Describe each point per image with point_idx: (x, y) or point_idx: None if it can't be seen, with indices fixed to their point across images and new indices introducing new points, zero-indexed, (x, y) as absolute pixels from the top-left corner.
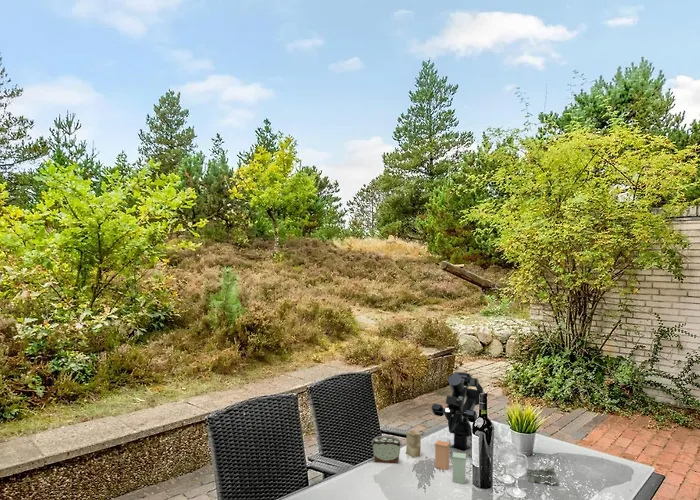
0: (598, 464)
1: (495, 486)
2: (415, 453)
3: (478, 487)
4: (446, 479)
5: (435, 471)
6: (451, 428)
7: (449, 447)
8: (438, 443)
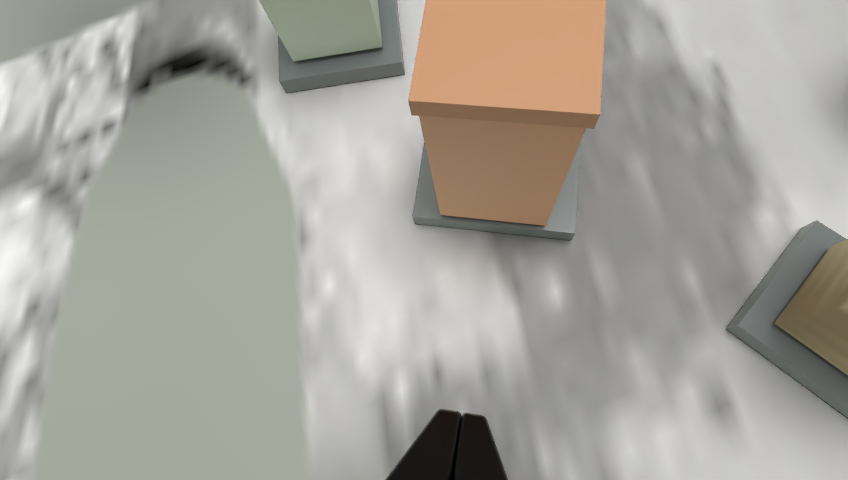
0: None
1: (106, 109)
2: (834, 266)
3: (216, 49)
4: None
5: None
6: (420, 442)
7: (422, 130)
8: (563, 6)
